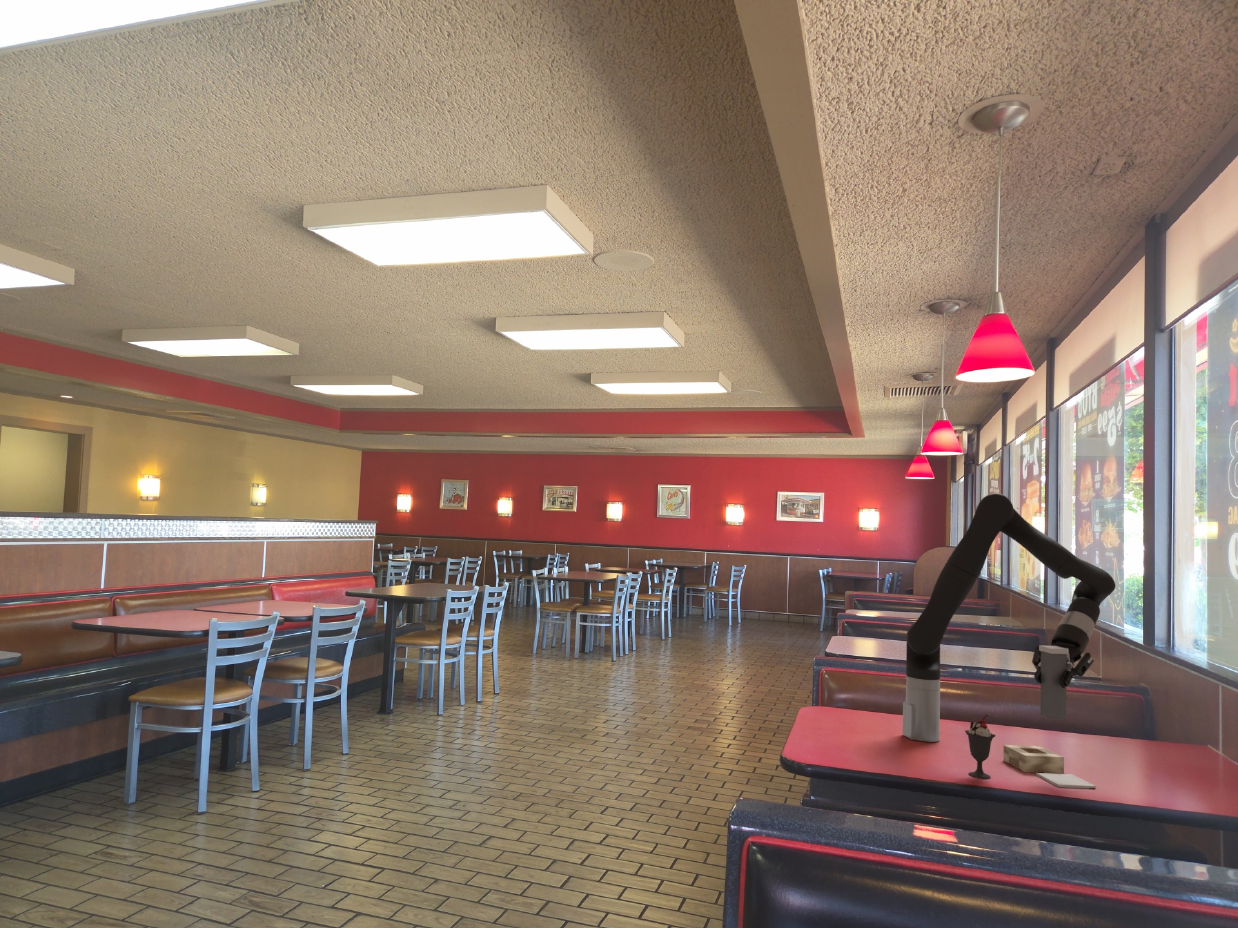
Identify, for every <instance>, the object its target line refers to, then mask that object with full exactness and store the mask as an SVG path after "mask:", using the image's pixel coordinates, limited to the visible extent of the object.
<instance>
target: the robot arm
mask: <svg viewBox="0 0 1238 928" xmlns="http://www.w3.org/2000/svg"><path fill="white" fill-rule="evenodd" d="M1000 532H1001V533H1003V534H1004V535H1006V536H1008V538H1010V539H1012V540H1013V541H1015V542H1016V543H1017V544H1019V545H1021V546H1022V548H1024V549H1025V550H1026V551H1027V552H1028V553H1030V554H1031V555H1032V556H1033V557H1035V559H1037V560H1038V561H1039V562H1040V563H1041V564H1042V565H1044V566H1045V567H1046V568H1048V569H1049V570H1050V571H1051V572H1052V573H1054V574H1055V575H1056V576H1058V577H1060V578H1061V579H1063V580H1065V579H1066V580H1067V579H1070V578H1074V579H1076V580H1079V581H1080V582H1079V583H1078V584H1076V587H1075V588H1074V591H1073V593H1072V597H1071V602H1070V604H1069V606H1068V607H1067V610H1066V612H1065V614H1064V615H1063V617H1062V618H1061V619H1060V622H1059V623H1058V626H1057V628H1056V630H1055V632H1054V634H1053V636H1052V638H1051V643H1050V644H1049V645H1048V646H1058V647H1062V648H1066V649H1068V654H1066V671H1064V673H1063V675H1062V677H1061V679H1060V681H1059V683H1060V685H1061V687H1062V688H1066V689H1067V687H1069V686H1070V683H1071V682H1072V679H1073V678H1075V676H1076V677H1077V676H1078V677H1079V678H1080V677H1081V678H1082V677H1084V675H1085V674H1086V672H1087V671H1088V670H1089V668H1090V667H1091V666H1092V665H1093V663H1094V658H1093V657H1092V655H1091V653H1090V652H1086V648H1087V647H1088V644H1089V642H1090V640H1091V637H1092V635H1093V634H1094V628H1095V626H1096V624H1097V622H1098V619H1099V617H1100V614H1101V608H1100V605H1101V604H1102V602H1103V601H1104V600H1105V599H1107V598H1108V596H1110V595H1111V594H1113V592H1114V591H1115V589H1116V581H1115V579H1114V578H1113V577H1112V575H1111V574H1110V573H1108V572H1107V570H1104V569H1103V568H1100V567H1098V566H1097V565H1094V564H1092V563H1090V562H1088V561H1086V560H1083V559H1082V558H1079V557H1078V556H1076V555H1075V554H1073V552H1071V551H1070V550H1069V549H1067V548H1065V547H1064V545H1062V544H1060V543H1059V542H1058V541H1056V540H1054V539H1053V538H1052V537H1050V536H1049V535H1047V534H1045V533H1044V532H1042V531H1041V530H1039V529H1037V528H1036V527H1034V526H1033V525H1032V524H1031V523H1030V522H1028V521H1027V520H1026V519H1025V518H1024V517H1023V516H1022V515H1021V514H1019V512H1018V511H1017V510H1016V509H1015V508H1014V506H1013V503H1012V501H1011V499H1009V497H1007V496H1006V495H1005V494H1002V493H995V492H994V493H989V494H986V495H985V496H984V497H982V498H981V499H980V500H979V503H978V505H977V507H976V510H975V512H974V515H973V517H972V519H971V521H970V524H969V526H968V529H967V530H966V532H965V534H964V535H963V537H962V538H961V539H960V541H958V544H957V545H956V546H955V548H954V550H953V551H952V553H951V554H950V556H949V558H948V559H947V561H946V562H945V564H944V565H943V567H942V569H941V571H940V573H939V575H938V577H937V579H936V582H935V584H934V586H933V590H932V593H931V595H930V598H929V600H928V602H927V605H926V606H925V607H924V609H923V611H922V612H921V613H920V616H919V617H918V618H917V620H916V621H915V622H913V623H912V624H910V626H909V627H908V629H907V631H906V653H905V654H906V658H905V660H906V661H905V666H906V667H905V670H906V672H905V675H906V676H905V679H906V680H905V700H904V701H902V735H903V736H904V737H906V738H907V739H909V740H910V741H911V740H912V741H919V742H927V743H936V742H939V741H940V740H941V739H940V735H941V731H940V728H941V725H940V721H941V719H940V718H941V717H940V716H941V715H940V713H941V644H942V641H943V638H944V635H945V633H946V631H947V628H948V626H949V624H950V622H951V621H952V618H953V616H954V615H955V614H956V613H957V610H959V608H960V606H961V605H962V604H963V602H965V600H966V598H967V596H968V595H969V594H970V592H971V590H973V587H974V586H975V584H976V582H977V580H978V578H979V576H980V574H981V573H982V571H983V567H984V565H985V563H986V562H987V561H986V560H987V557H988V554H989V551H990V549H991V546H992V545H993V543H994V541H995V540H996V538H997V537H998V535H999V534H1000ZM1076 662H1078V663H1077V664H1076V665H1075V663H1076ZM1031 663H1032V665H1033V666H1034V668H1035V670H1036V671H1035V673H1034V675H1033V678H1034V679H1035V681H1036V683H1037V684H1040V685H1041V651H1040V650H1039V645H1036V646H1035V647H1034V652H1033V655H1032V660H1031Z"/></svg>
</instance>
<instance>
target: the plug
mask: <svg viewBox="0 0 1238 928" xmlns="http://www.w3.org/2000/svg"><path fill="white" fill-rule="evenodd" d="M1038 646H1039V650H1040V651H1041V684H1040V716H1043V717H1046V718H1048V719H1051V720H1067V687H1066V688H1062V687H1061V685H1060V683H1059V681H1060V679H1061V677H1062V675H1063V673H1064V671H1066V654H1068V649H1066V648H1062V647H1058V646H1049V645H1038Z"/></svg>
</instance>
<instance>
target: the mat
mask: <svg viewBox="0 0 1238 928" xmlns="http://www.w3.org/2000/svg"><path fill="white" fill-rule="evenodd" d="M1035 773H1036V776H1037V777H1038V778H1040V777H1042V778H1043V780H1044V779H1045V782H1046V781H1047V782H1048V781H1049V782H1048V783H1049V784H1052V785H1054V786H1055V787H1057V788H1067V789H1068V788H1070V789H1071V788H1072V789H1089V788H1096V789H1097V786H1096V785H1095V784H1092V783H1091V782H1088V781H1086V780H1084V779H1082V778H1080V777H1078V776H1076V775H1075V774H1072V773H1071V774H1070V773H1064V774H1061V773H1038V772H1035ZM1042 778H1041V779H1042Z"/></svg>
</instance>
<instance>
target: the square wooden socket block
mask: <svg viewBox="0 0 1238 928" xmlns="http://www.w3.org/2000/svg"><path fill="white" fill-rule="evenodd" d="M1003 761H1005V762H1006V763H1008V764H1009V765H1011V766H1012V767H1015V768H1017V769H1018V768H1019V769H1018V770H1020V769H1021V771H1022V770H1023V771H1022V772H1024V773H1038V772H1044V773H1053V774H1065V757H1064V756H1062V755H1060V754H1059V753H1057V752H1054V751H1052V750H1049V749H1047V748H1046V747H1043V746H1038V745H1021V744H1020V745H1019V744H1018V745H1015V744H1003Z"/></svg>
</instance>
